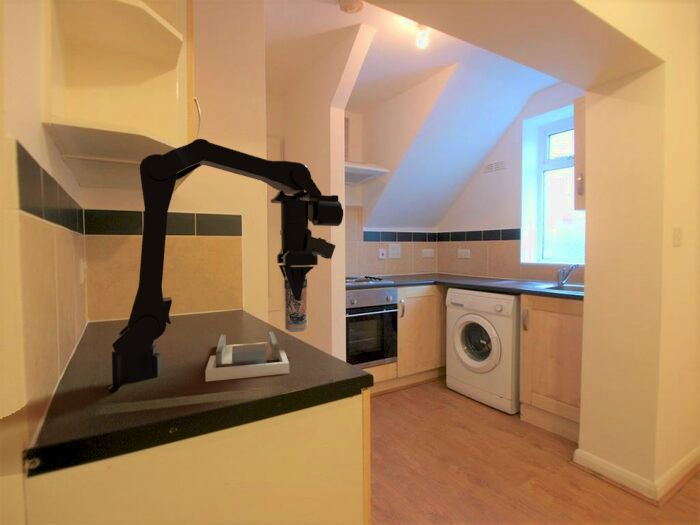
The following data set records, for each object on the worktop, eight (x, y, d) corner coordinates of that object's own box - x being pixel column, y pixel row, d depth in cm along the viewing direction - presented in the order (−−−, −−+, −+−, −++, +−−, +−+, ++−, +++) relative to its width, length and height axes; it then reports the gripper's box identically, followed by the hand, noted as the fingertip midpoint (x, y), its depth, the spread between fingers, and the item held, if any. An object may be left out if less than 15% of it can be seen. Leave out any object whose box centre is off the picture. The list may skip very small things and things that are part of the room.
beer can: (286, 333, 73) (285, 275, 73) (284, 328, 78) (283, 273, 77) (309, 331, 74) (308, 274, 74) (306, 327, 79) (305, 273, 79)
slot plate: (216, 370, 69) (215, 351, 69) (221, 350, 83) (221, 334, 83) (279, 365, 72) (278, 346, 72) (273, 346, 87) (273, 331, 86)
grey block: (232, 378, 63) (231, 353, 63) (232, 369, 68) (232, 346, 68) (266, 374, 65) (266, 350, 65) (264, 366, 70) (264, 343, 70)
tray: (205, 388, 60) (205, 370, 60) (210, 371, 68) (210, 355, 68) (289, 379, 64) (289, 362, 64) (284, 364, 72) (283, 349, 72)
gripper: (343, 221, 69) (343, 302, 69) (322, 228, 87) (323, 292, 87) (284, 221, 65) (286, 305, 66) (276, 227, 83) (277, 294, 84)
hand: (295, 298), depth 76 cm, fingers closed on beer can, 5 cm apart
